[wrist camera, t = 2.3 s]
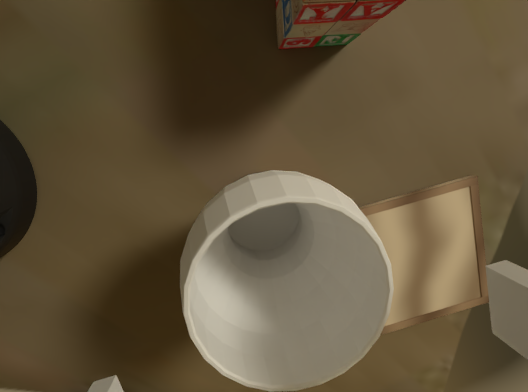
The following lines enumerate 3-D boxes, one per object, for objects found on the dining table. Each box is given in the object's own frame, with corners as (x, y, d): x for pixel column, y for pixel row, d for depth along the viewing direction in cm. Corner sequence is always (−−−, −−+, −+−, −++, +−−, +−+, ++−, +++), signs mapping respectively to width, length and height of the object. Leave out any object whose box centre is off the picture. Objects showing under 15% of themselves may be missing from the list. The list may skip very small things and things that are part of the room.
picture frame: (362, 335, 31) (365, 339, 31) (336, 213, 28) (338, 215, 28) (484, 298, 32) (489, 301, 31) (471, 175, 29) (477, 176, 28)
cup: (298, 140, 27) (376, 146, 12) (329, 244, 29) (426, 356, 14) (186, 179, 26) (126, 233, 12) (227, 281, 29) (219, 433, 14)
